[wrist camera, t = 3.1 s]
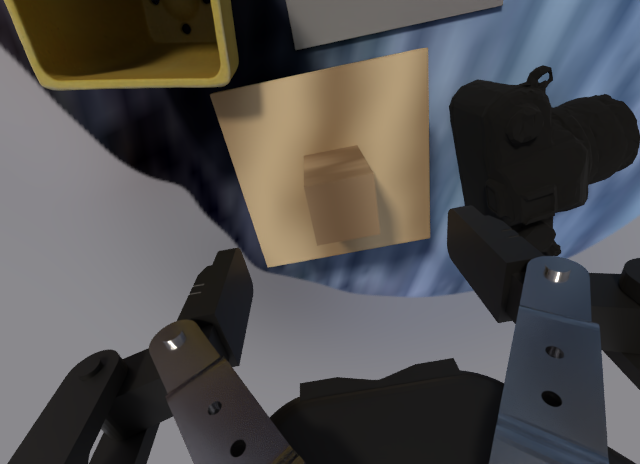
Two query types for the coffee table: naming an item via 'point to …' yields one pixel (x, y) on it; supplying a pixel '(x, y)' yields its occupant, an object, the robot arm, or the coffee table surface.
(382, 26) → the mat
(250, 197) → the lid
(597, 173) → the film camera
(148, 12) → the flower pot
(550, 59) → the coffee table surface
